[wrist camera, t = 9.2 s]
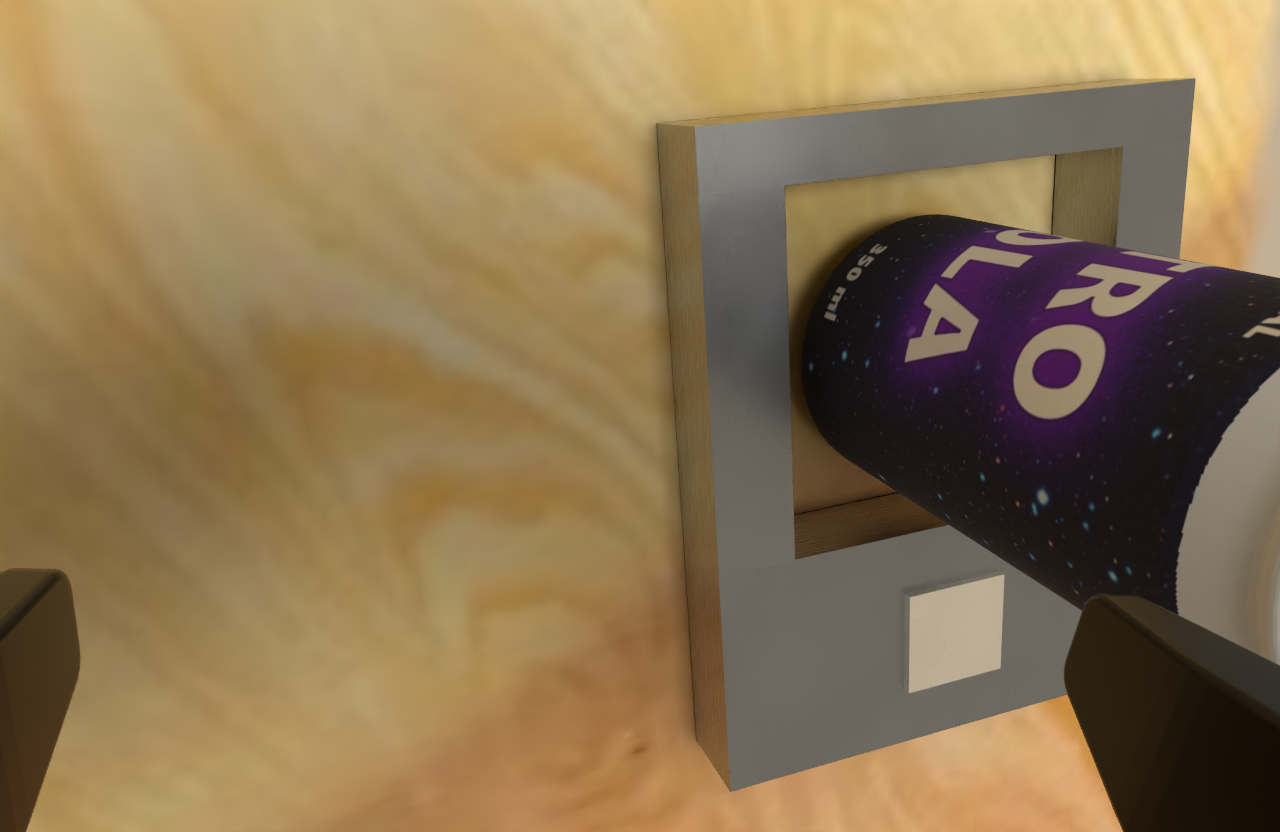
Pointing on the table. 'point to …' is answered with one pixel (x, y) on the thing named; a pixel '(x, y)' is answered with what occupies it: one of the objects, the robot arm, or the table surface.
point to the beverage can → (1067, 409)
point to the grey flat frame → (884, 526)
